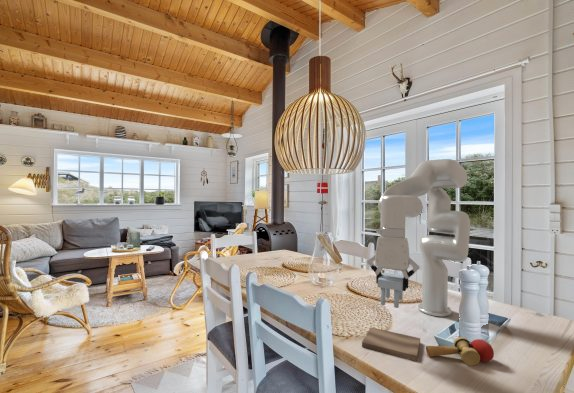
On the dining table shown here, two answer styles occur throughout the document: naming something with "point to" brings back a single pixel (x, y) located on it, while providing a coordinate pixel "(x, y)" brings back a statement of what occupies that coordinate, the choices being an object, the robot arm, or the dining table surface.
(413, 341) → the walnut board
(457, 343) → the kendama
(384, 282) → the stool
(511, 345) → the dining table surface
